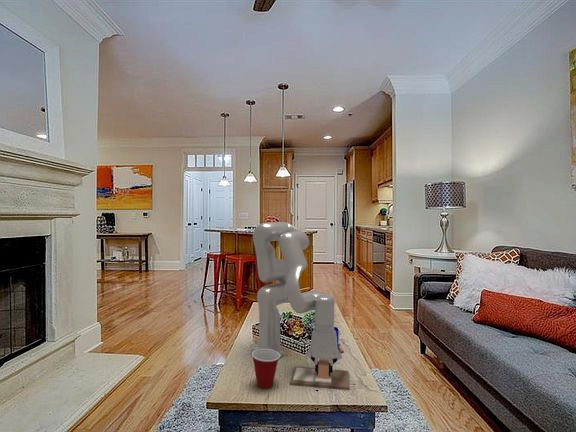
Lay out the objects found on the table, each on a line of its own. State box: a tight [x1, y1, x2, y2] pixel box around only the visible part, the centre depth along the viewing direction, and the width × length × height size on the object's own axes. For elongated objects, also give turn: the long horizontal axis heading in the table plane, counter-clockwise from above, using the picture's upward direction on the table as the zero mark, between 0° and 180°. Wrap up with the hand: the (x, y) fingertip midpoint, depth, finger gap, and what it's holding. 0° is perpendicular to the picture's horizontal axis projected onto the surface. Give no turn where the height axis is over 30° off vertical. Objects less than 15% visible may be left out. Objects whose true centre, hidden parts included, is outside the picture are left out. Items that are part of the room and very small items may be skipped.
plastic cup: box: [251, 349, 281, 390], centre depth 130 cm, size 11×11×12 cm
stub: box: [315, 358, 332, 383], centre depth 135 cm, size 6×10×6 cm, turn 171°
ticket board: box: [289, 366, 350, 391], centre depth 135 cm, size 22×13×2 cm, turn 81°
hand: (323, 373), depth 135 cm, fingers closed on stub, 4 cm apart
